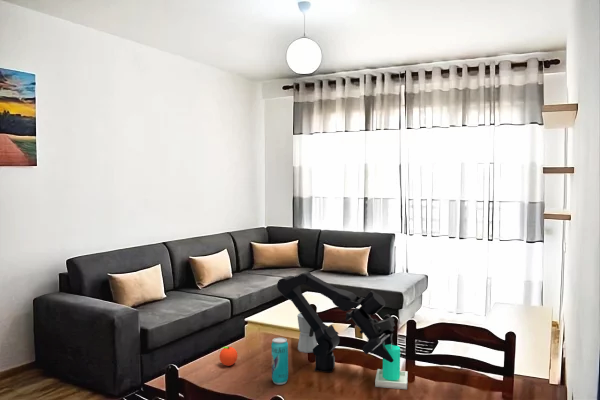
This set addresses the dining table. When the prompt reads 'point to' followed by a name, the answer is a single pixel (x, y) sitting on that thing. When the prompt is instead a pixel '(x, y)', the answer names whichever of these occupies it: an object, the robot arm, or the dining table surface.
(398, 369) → the candle
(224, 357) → the clementine
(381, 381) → the tray
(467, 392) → the dining table surface
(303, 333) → the coffee maker
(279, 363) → the beverage can
